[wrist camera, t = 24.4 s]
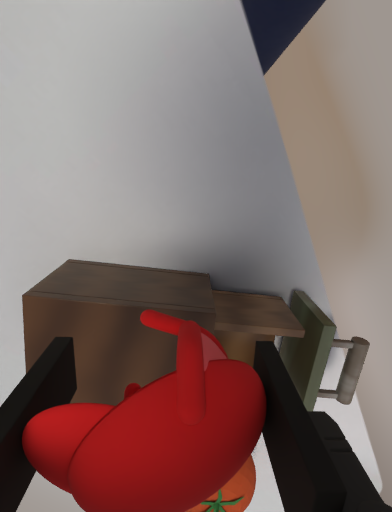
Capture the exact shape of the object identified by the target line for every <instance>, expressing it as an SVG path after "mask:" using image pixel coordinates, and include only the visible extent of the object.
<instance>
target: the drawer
mask: <svg viewBox="0 0 392 512" xmlns="http://www.w3.org/2000/svg"><path fill="white" fill-rule="evenodd" d="M212 294H213V299H214V304H215V310H216V321H215V327H214V334H213V335H214V336H215V338H216V339H217V340H218V341H219V342H220V344H221V345H222V347H223V348H224V350H225V352H226V354H227V356H228V359H233V360H239V361H242V362H245V363H247V364H248V365H250V366H251V367H252V368H253V363H254V354H255V345H256V341H273V343H274V340H275V335H277V336H283V340H282V345H281V349H280V354H279V355H280V357H281V359H282V361H283V363H284V365H285V367H286V369H287V371H288V373H289V375H290V377H291V379H292V381H293V383H294V385H295V387H296V389H297V391H298V393H299V395H300V397H301V399H302V402H303V404H304V406H305V408H306V410H307V411H313V409H314V405H315V402H316V398H317V397H322V398H334V399H336V400H337V401H339V402H340V403H342V404H346V405H348V404H350V403H351V401H352V398H353V395H354V392H355V389H356V385H357V382H358V379H359V376H360V373H361V370H362V367H363V364H364V361H365V357H366V355H367V352H368V348H369V345H370V343H369V342H368V341H367V340H365V339H363V338H360V337H352V339H351V341H350V340H340V339H333V338H334V335H335V331H336V328H337V327H336V325H335V324H334V323H333V322H332V321H331V320H330V319H329V318H328V317H327V316H326V315H325V314H324V313H323V312H322V310H321V309H320V308H319V307H318V306H317V305H316V304H315V303H314V302H313V301H312V300H311V299H310V298H309V297H308V295H307V294H306V293H305V292H304V291H294V292H293V297H292V301H291V305H290V309H289V307H288V306H287V304H286V303H285V302H284V300H283V299H282V297H277V296H267V295H257V294H247V293H237V292H227V291H217V290H212ZM331 347H340V348H349V349H348V352H347V356H346V359H345V362H344V365H343V369H342V372H341V375H340V379H339V382H338V385H337V389H336V391H335V390H324V389H319V388H320V384H321V381H322V377H323V374H324V370H325V367H326V363H327V359H328V356H329V352H330V349H331Z"/></svg>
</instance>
